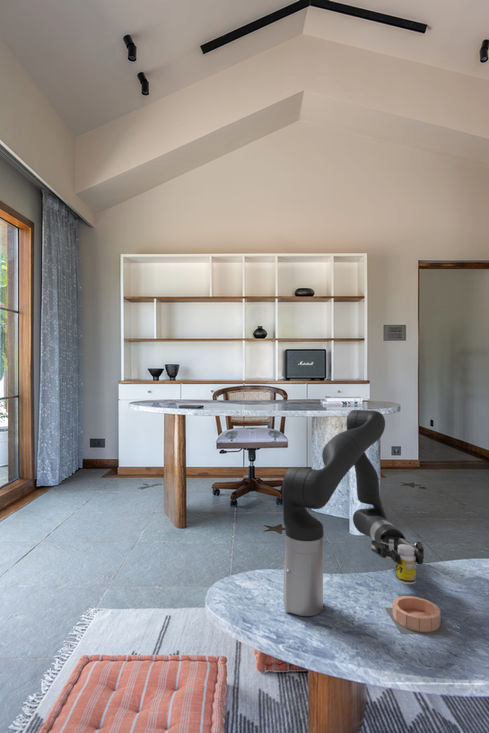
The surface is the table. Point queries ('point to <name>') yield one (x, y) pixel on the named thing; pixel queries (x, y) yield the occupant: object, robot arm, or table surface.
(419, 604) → the bowl
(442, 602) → the table surface
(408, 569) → the supplement bottle
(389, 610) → the mat
